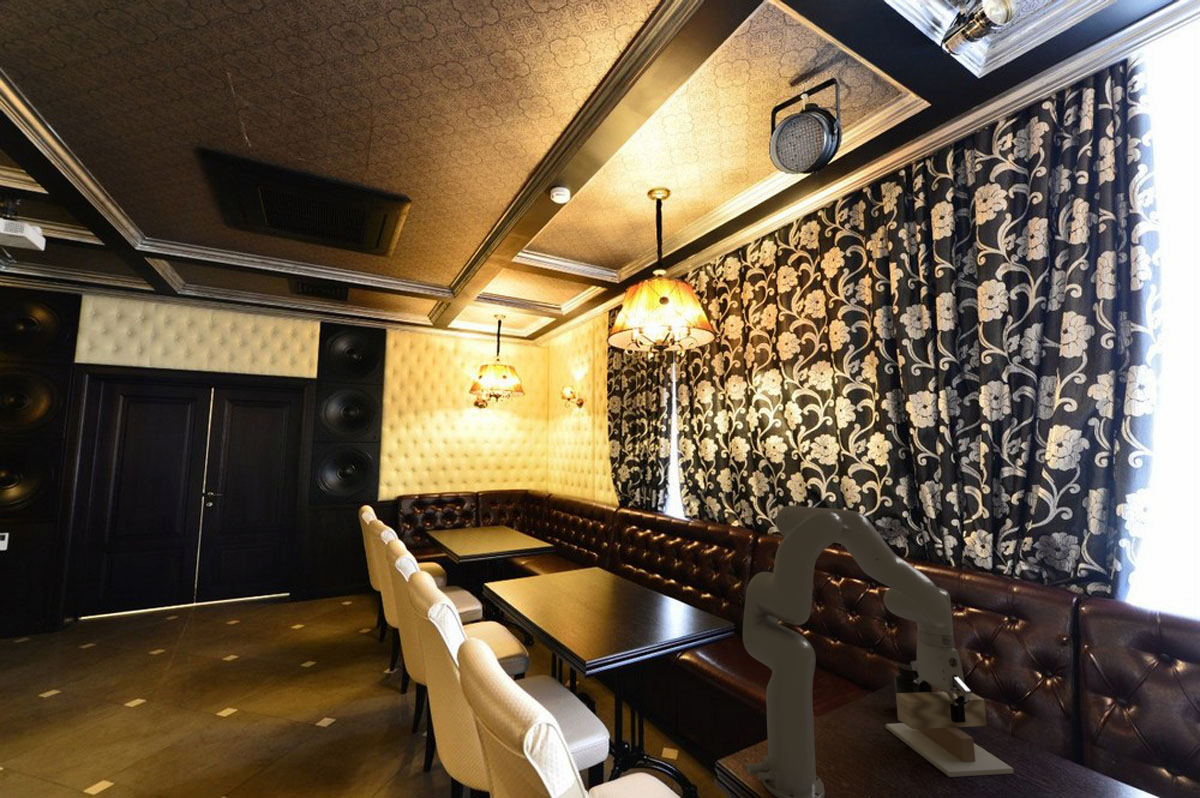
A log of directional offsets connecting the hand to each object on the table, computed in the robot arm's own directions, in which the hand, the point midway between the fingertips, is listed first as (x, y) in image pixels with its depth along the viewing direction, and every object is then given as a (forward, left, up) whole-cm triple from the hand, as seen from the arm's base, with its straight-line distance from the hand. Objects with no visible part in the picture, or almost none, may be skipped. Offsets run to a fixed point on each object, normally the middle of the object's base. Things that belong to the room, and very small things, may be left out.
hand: (941, 711), depth 117 cm
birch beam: (0, 0, -2) cm, 3 cm away
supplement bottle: (+5, +17, -9) cm, 20 cm away
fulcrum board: (0, 0, -8) cm, 8 cm away
